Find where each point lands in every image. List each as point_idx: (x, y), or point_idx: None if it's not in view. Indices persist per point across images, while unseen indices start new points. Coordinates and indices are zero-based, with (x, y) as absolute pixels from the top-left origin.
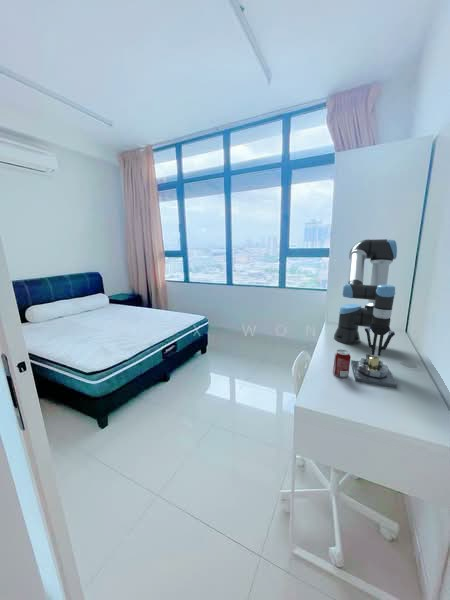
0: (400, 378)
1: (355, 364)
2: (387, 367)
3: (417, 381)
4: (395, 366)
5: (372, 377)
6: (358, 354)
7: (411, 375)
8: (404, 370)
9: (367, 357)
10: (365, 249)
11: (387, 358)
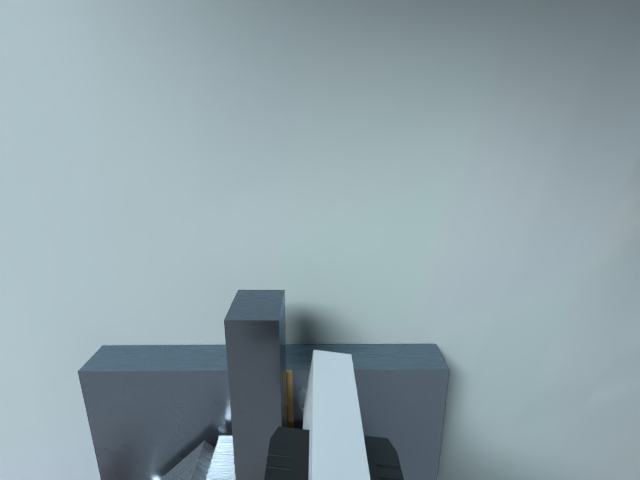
0: (499, 466)
1: (126, 451)
2: (440, 411)
3: (618, 469)
4: (558, 249)
5: None
6: (184, 32)
7: (625, 389)
8: (611, 312)
9: (232, 409)
10: None
11: (557, 31)
